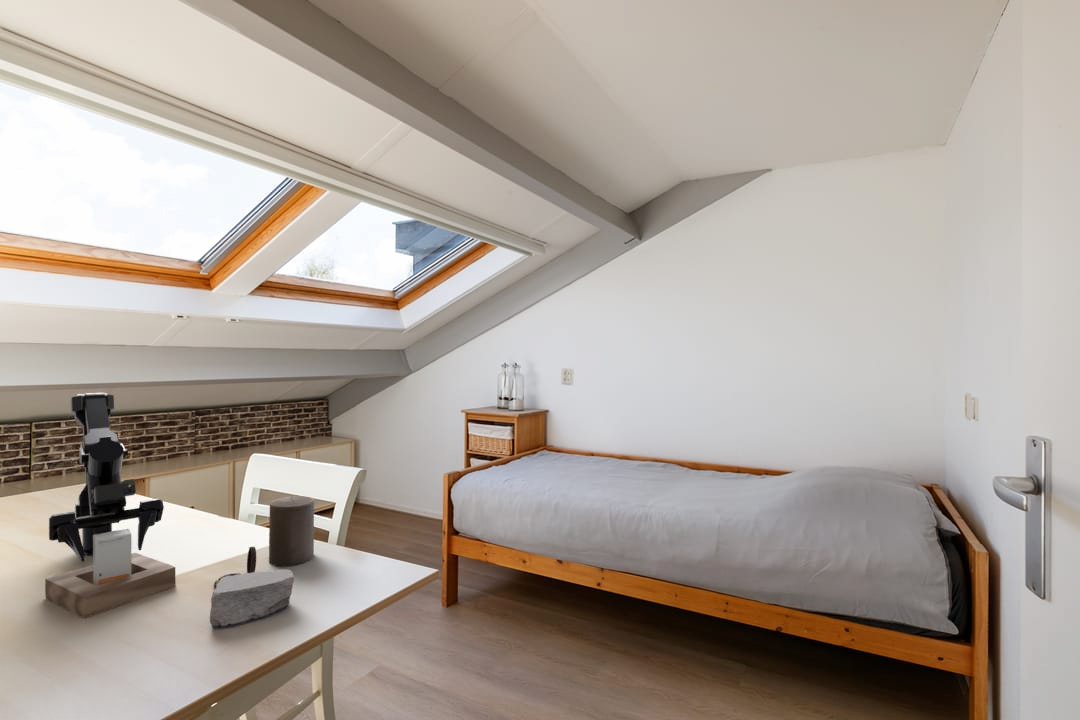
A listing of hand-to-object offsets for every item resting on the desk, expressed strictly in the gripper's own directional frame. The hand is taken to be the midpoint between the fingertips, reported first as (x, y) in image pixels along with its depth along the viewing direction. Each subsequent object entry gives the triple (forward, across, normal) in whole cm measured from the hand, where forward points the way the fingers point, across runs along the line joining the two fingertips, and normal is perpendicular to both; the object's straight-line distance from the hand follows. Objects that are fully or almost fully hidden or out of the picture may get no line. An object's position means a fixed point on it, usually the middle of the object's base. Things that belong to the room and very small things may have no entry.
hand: (112, 554), depth 113 cm
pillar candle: (+9, +34, +3) cm, 35 cm away
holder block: (+5, 0, +7) cm, 8 cm away
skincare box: (+5, 0, +7) cm, 8 cm away
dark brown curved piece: (+14, +20, -2) cm, 24 cm away
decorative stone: (+25, +18, -13) cm, 33 cm away
